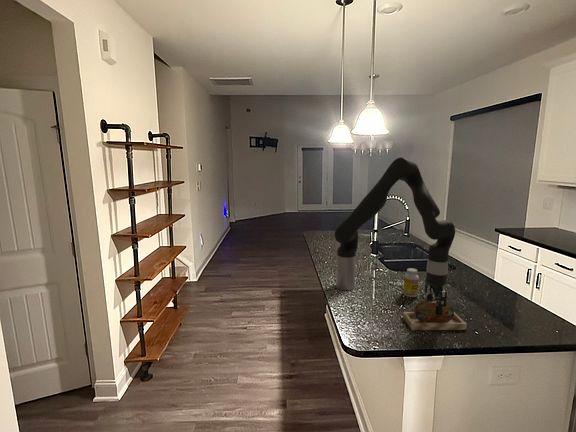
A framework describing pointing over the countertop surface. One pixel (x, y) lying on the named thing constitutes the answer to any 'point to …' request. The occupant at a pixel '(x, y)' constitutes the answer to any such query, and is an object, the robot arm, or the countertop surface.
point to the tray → (415, 324)
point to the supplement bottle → (411, 283)
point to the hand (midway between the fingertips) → (433, 309)
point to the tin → (433, 313)
